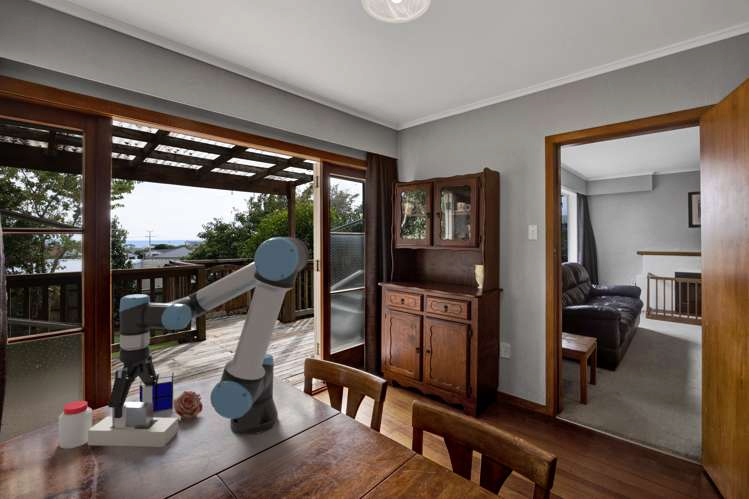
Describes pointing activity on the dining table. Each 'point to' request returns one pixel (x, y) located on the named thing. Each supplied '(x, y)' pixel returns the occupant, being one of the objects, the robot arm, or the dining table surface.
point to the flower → (188, 405)
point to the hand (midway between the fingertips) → (134, 416)
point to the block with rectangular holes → (133, 433)
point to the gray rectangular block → (137, 415)
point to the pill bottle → (74, 424)
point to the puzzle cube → (161, 392)
